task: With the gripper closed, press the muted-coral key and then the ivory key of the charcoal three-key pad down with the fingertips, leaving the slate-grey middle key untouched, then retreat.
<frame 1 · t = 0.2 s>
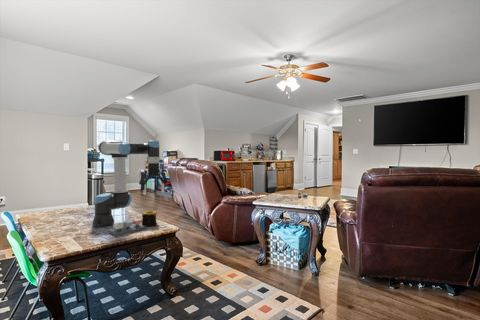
hand: (153, 193, 188), 27 cm above the table, fingers open, 13 cm apart
key coral: (137, 223, 199), point 4 cm above the table, slide at 0.0 cm
key ivory: (118, 227, 188), point 4 cm above the table, slide at 0.0 cm
keypad base: (128, 230, 194), on the table
key slate: (128, 225, 194), point 4 cm above the table, slide at 0.0 cm
candle: (149, 225, 209), on the table
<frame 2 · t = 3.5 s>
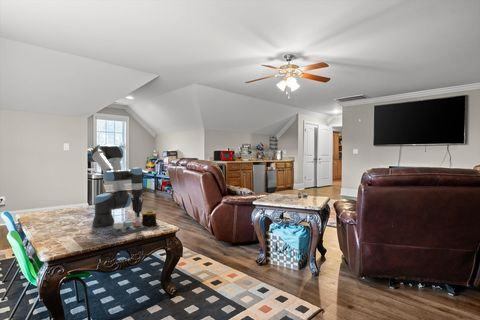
hand: (137, 221, 199), 6 cm above the table, fingers closed
key coral: (137, 224, 199), point 3 cm above the table, slide at 1.3 cm, touching gripper
everything else where it was.
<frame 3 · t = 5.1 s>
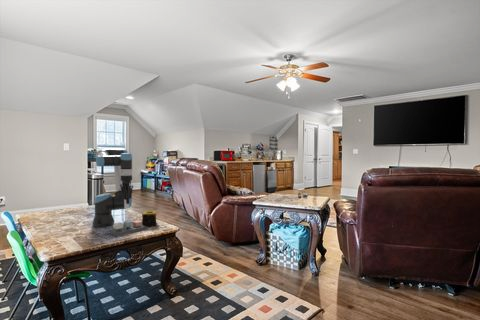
hand: (126, 208, 193), 16 cm above the table, fingers closed
key coral: (137, 225, 199), point 3 cm above the table, slide at 1.4 cm
everything else where it was.
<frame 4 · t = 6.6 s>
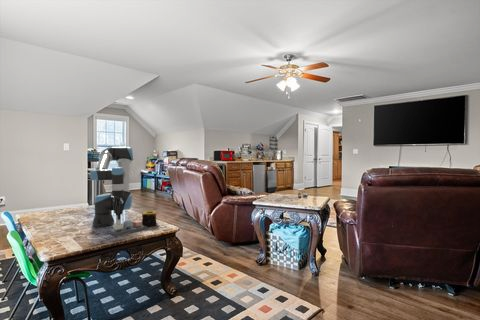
hand: (118, 223, 188), 7 cm above the table, fingers closed
key ivory: (118, 227, 188), point 4 cm above the table, slide at 0.4 cm, touching gripper
everything else where it was.
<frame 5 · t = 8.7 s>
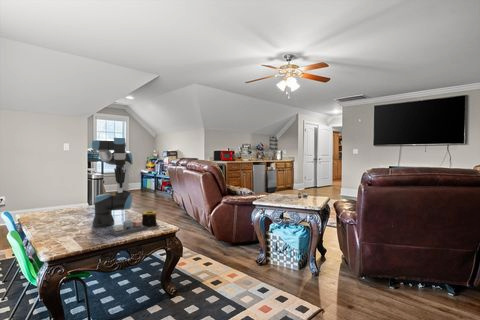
hand: (120, 192, 194), 27 cm above the table, fingers closed
key ivory: (118, 229, 189), point 3 cm above the table, slide at 1.4 cm
everything else where it was.
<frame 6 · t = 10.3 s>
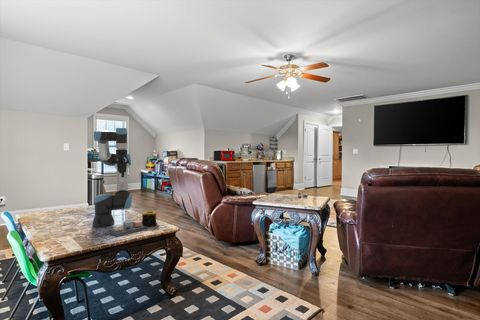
hand: (122, 181, 198), 34 cm above the table, fingers closed
nothing on the table moved.
at the end: key coral slide at 1.4 cm; key ivory slide at 1.4 cm; key slate slide at 0.0 cm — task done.
